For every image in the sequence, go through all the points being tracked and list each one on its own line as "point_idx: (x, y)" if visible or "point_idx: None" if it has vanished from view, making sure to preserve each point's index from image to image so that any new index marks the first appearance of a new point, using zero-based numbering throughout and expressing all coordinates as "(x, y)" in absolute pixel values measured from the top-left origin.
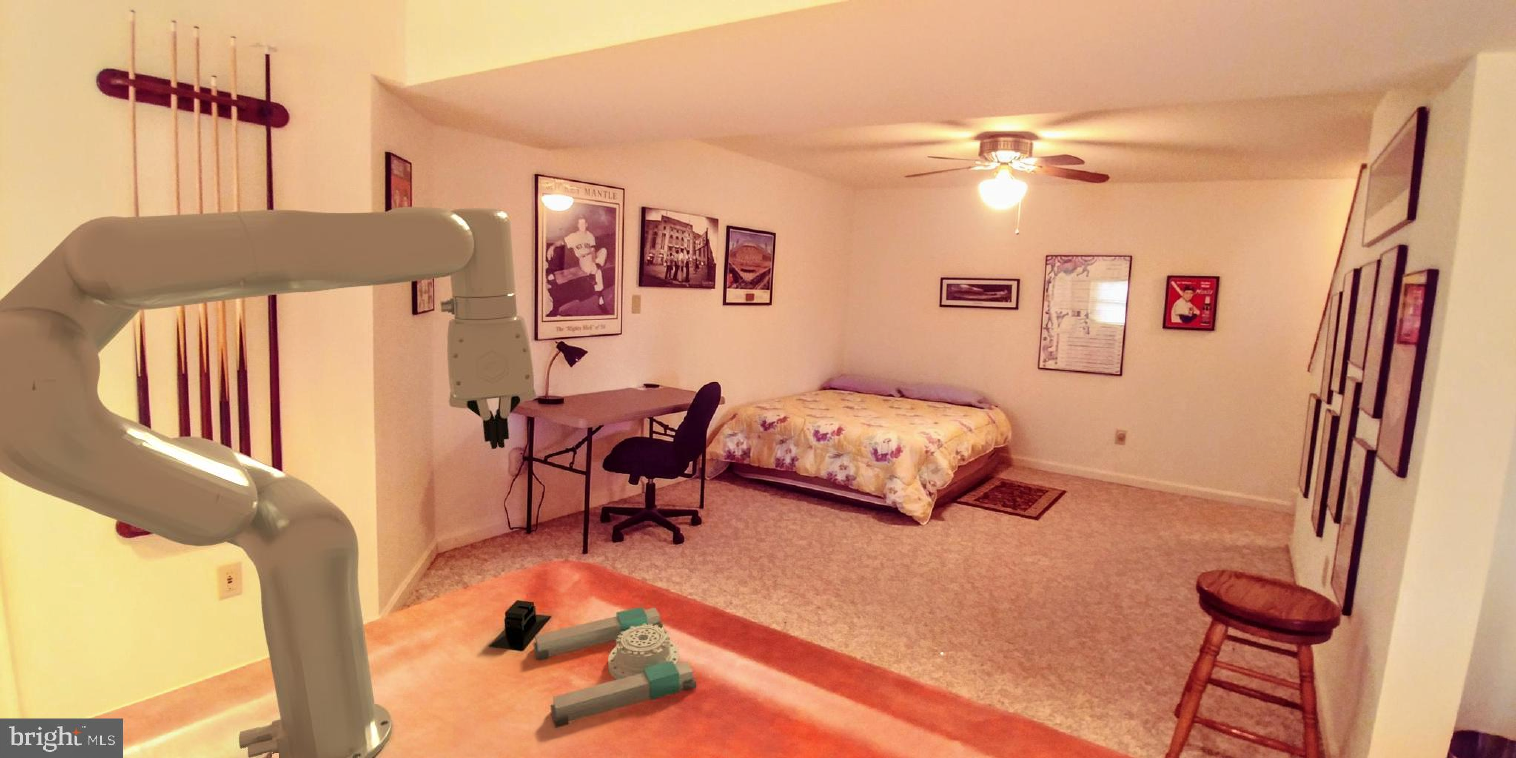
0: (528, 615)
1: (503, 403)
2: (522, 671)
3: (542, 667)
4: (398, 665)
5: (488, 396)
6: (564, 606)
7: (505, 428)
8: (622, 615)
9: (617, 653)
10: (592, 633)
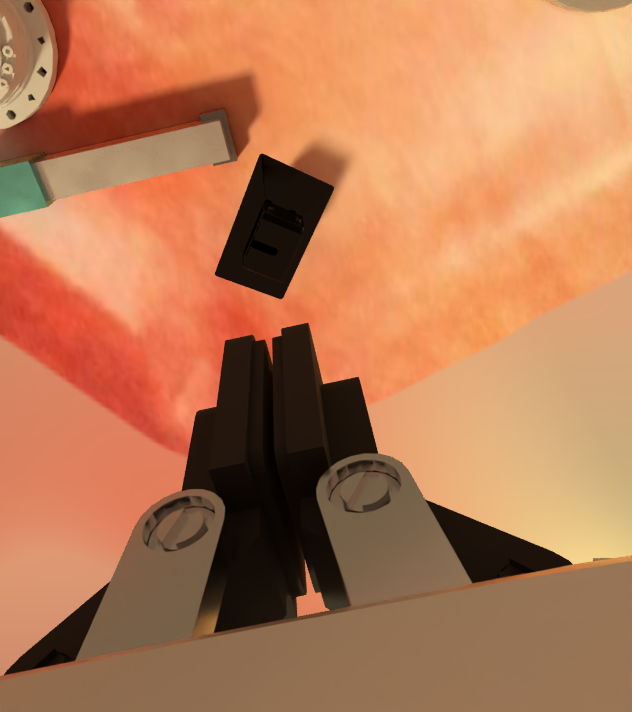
0: (253, 239)
1: (169, 618)
2: (252, 74)
3: (210, 79)
4: (503, 156)
5: (327, 622)
6: (192, 306)
7: (209, 450)
8: (29, 190)
9: (14, 23)
10: (99, 147)
